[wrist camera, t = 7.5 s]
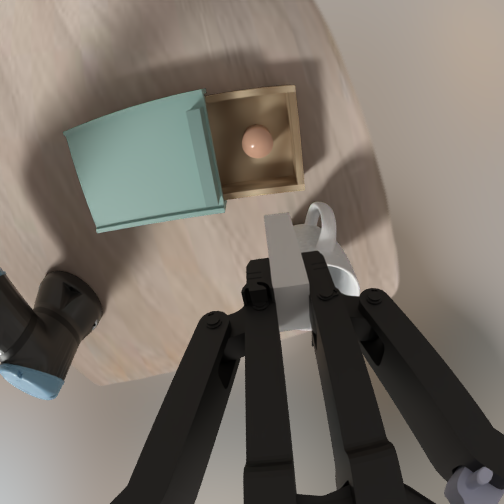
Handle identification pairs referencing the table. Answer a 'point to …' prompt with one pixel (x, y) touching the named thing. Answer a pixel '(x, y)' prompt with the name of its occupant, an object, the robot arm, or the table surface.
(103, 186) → the lid
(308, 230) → the mug
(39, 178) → the table surface
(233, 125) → the open brown box
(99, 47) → the table surface
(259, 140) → the peach egg shape
